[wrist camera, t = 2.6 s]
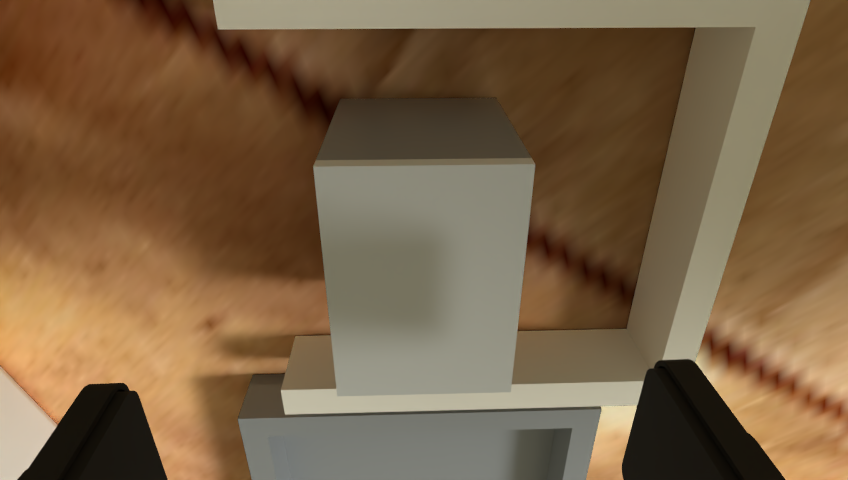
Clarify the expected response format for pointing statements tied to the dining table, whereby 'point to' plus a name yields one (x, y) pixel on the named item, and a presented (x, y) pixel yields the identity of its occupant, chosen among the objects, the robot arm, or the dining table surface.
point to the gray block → (423, 244)
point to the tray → (413, 442)
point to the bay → (674, 208)
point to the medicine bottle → (20, 428)
